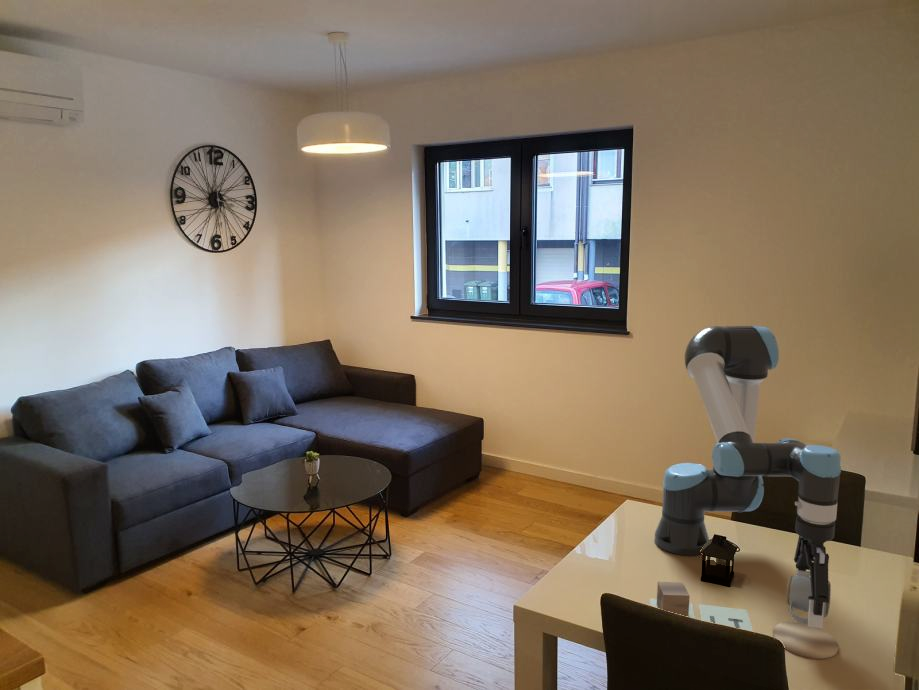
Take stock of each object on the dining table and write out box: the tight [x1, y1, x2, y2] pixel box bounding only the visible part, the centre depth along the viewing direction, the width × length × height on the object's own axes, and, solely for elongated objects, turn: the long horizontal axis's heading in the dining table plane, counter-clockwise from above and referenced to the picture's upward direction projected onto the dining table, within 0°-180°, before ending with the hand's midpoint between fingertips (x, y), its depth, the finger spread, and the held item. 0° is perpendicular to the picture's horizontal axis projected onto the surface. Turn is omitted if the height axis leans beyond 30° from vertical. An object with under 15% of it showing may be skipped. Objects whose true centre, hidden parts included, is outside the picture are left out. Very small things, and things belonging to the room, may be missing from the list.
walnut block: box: [656, 581, 690, 616], centre depth 161 cm, size 6×6×6 cm
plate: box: [649, 597, 696, 619], centre depth 162 cm, size 10×10×1 cm
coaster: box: [772, 621, 839, 660], centre depth 150 cm, size 13×13×1 cm
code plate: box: [698, 603, 755, 633], centre depth 157 cm, size 14×11×1 cm
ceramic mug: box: [785, 574, 832, 624], centre depth 148 cm, size 11×8×8 cm
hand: (807, 611), depth 149 cm, fingers closed on ceramic mug, 11 cm apart
